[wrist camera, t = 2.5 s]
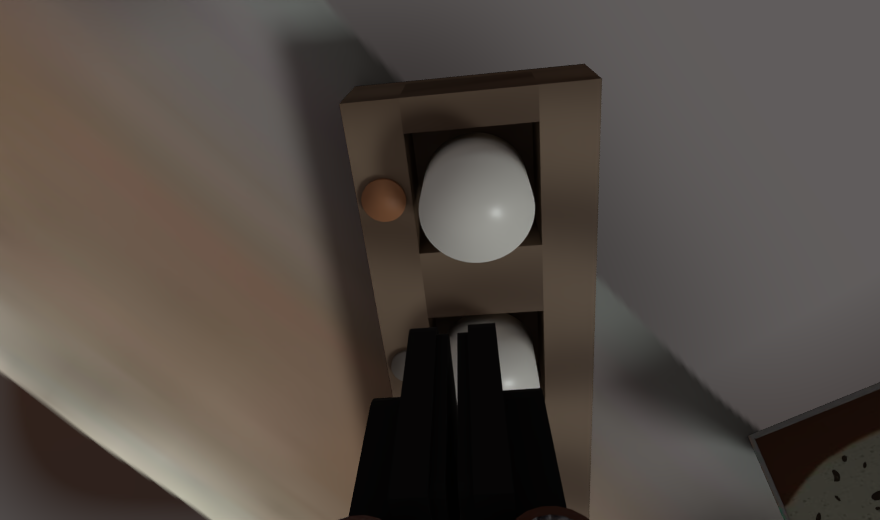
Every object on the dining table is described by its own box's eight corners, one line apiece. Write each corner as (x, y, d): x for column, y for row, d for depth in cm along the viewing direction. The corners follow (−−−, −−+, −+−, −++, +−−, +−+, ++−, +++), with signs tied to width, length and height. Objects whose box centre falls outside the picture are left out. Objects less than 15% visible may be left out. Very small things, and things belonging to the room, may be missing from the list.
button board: (355, 86, 21) (338, 105, 19) (584, 63, 21) (602, 79, 18) (422, 488, 32) (418, 540, 29) (578, 482, 31) (589, 535, 28)
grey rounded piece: (418, 137, 20) (411, 160, 18) (525, 127, 20) (533, 150, 17) (430, 233, 22) (425, 266, 19) (528, 226, 22) (536, 258, 19)
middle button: (439, 313, 24) (436, 352, 21) (531, 307, 23) (538, 347, 21) (448, 384, 25) (446, 428, 23) (533, 379, 25) (540, 423, 23)
